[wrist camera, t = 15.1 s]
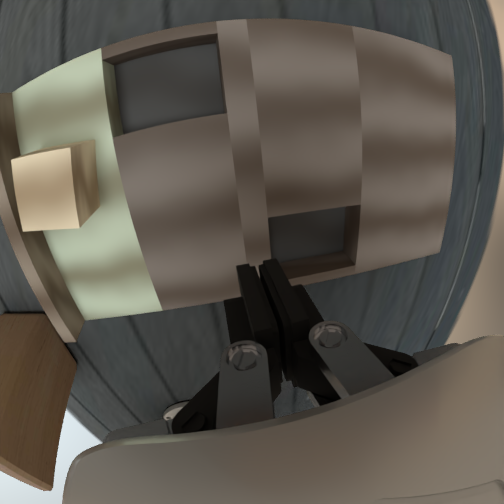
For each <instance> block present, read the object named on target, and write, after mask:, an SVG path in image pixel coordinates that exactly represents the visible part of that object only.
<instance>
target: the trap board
mask: <svg viewBox="0 0 504 504" xmlns="http://www.w3.org/2000/svg"><path fill="white" fill-rule="evenodd" d="M455 139H456V101H455V84H454V72H453V63H452V56H451V55H448V54H446V53H443V52H441V51H438V50H436V49H433V48H431V47H428V46H425V45H422V44H419V43H416V42H413V41H410V40H407V39H404V38H400V37H397V36H393V35H390V34H386V33H382V32H378V31H373V30H369V29H364V28H359V27H354V26H348V25H342V24H336V23H328V22H320V21H309V20H296V19H240V20H226V21H215V22H207V23H199V24H193V25H186V26H181V27H175V28H170V29H165V30H161V31H157V32H152V33H148V34H145V35H141V36H137V37H134V38H130V39H127V40H124V41H120V42H117V43H114V44H111V45H109V46H106V47H103V48H100V49H98V50H95V51H92V52H90V53H87V54H85V55H82V56H80V57H78V58H75V59H73V60H71V61H69V62H67V63H65V64H62V65H60V66H58V67H56V68H54V69H52V70H50V71H48V72H47V73H45V74H43V75H41V76H39V77H37V78H36V79H34V80H32V81H30V82H29V83H27V84H25V85H24V86H22V87H20V88H19V89H17V90H16V91H14V92H13V93H0V215H1V218H2V221H3V224H4V227H5V230H6V232H7V235H8V237H9V240H10V243H11V245H12V247H13V250H14V252H15V254H16V257H17V259H18V261H19V263H20V266H21V268H22V270H23V272H24V274H25V276H26V278H27V280H28V282H29V284H30V286H31V288H32V290H33V292H34V293H35V295H36V297H37V299H38V301H39V303H40V304H41V306H42V308H43V309H44V311H45V313H46V314H47V316H48V318H49V319H50V321H51V323H52V324H53V326H54V327H55V329H56V330H57V332H58V333H59V335H60V336H61V338H62V339H63V341H64V342H65V343H66V342H77V339H78V336H79V334H80V331H81V329H82V326H83V324H84V321H85V320H91V319H100V318H109V317H117V316H125V315H133V314H141V313H148V312H155V311H162V310H169V309H176V308H182V307H188V306H195V305H201V304H207V303H213V302H219V301H224V300H226V299H231V298H236V297H241V293H240V287H239V281H238V276H237V270H236V266H237V265H242V264H248V263H249V264H250V266H255V267H256V270H257V273H258V275H259V265H261V264H263V260H268V259H273V258H276V259H277V260H278V262H279V264H280V266H281V267H282V269H283V271H284V273H285V275H286V276H287V278H288V280H289V282H290V284H291V286H294V285H299V284H302V285H308V284H312V283H317V282H322V281H326V280H331V279H335V278H340V277H344V276H348V275H353V274H357V273H361V272H365V271H370V270H374V269H378V268H382V267H386V266H390V265H394V264H398V263H402V262H405V261H409V260H413V259H417V258H421V257H424V256H428V255H432V254H435V253H439V252H440V247H441V243H442V239H443V234H444V229H445V224H446V219H447V214H448V208H449V202H450V195H451V187H452V179H453V170H454V158H455ZM87 140H95V149H96V168H97V181H98V191H99V201H100V207H99V208H98V209H97V210H96V211H95V212H94V213H93V214H92V215H91V216H90V218H89V219H88V220H87V221H86V222H85V223H84V224H83V225H82V226H81V227H80V228H76V229H56V230H40V231H24V232H23V229H22V225H21V221H20V216H19V211H18V206H17V201H16V195H15V188H14V181H13V173H12V164H11V160H12V159H14V158H17V157H19V156H22V155H25V154H27V153H30V152H33V151H36V150H39V149H42V148H47V147H52V146H57V145H62V144H68V143H74V142H81V141H87ZM259 278H260V275H259Z"/></svg>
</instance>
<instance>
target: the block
mask: <svg viewBox="0 0 504 504" xmlns="http://www.w3.org/2000/svg"><path fill="white" fill-rule="evenodd" d="M76 370H77V365H76V361H75V360H74V358H73V357H72V355H71V354H70V352H69V351H68V349H67V347H66V346H65V344H64V343H63V341H62V339H61V338H60V336H59V334H58V332H57V331H56V329H55V327H54V326H53V324H52V323H51V321H50V319H49V318H48V316H47V315H45V314H5V313H4V314H2V315H1V316H0V471H2V472H4V473H6V474H8V475H10V476H12V477H14V478H16V479H18V480H20V481H22V482H24V483H26V484H29V485H31V486H33V487H36V488H38V489H41V490H43V491H51V490H52V488H53V482H54V472H55V464H56V457H57V451H58V445H59V439H60V433H61V429H62V424H63V419H64V415H65V411H66V406H67V402H68V398H69V395H70V391H71V387H72V384H73V380H74V377H75V373H76Z"/></svg>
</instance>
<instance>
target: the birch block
mask: <svg viewBox="0 0 504 504" xmlns="http://www.w3.org/2000/svg"><path fill="white" fill-rule="evenodd" d="M11 164H12V173H13V181H14V188H15V195H16V201H17V206H18V211H19V216H20V221H21V225H22V229H23V232H24V231H40V230H56V229H76V228H80V227H81V226H82V225H83V224H84V223H85V222H86V221H87V220H88V219H89V218H90V216H91V215H92V214H93V213H94V212H95V211H96V210H97V209H98V208H99V207H100V201H99V191H98V181H97V168H96V149H95V140H87V141H81V142H74V143H68V144H62V145H57V146H52V147H47V148H42V149H39V150H36V151H33V152H30V153H27V154H25V155H22V156H19V157H17V158H14V159H12V160H11Z"/></svg>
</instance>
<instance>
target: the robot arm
mask: <svg viewBox="0 0 504 504" xmlns="http://www.w3.org/2000/svg"><path fill="white" fill-rule="evenodd" d="M236 270H237V276H238V281H239V287H240V293H241V297H236V298H231V299H226V300H224V306H225V312H226V318H227V324H228V330H229V336H230V342H231V345H229V346H228V347H227V348H226V349H225V350H224V351H223V353H222V355H221V360H220V371H219V372H218V373H217V374H216V375H215V376H214V377H213V378H212V379H211V380H210V381H209V382H208V383H207V384H206V385H205V386H204V387H203V388H202V389H201V390H200V391H199V392H198V393H197V394H196V395H195V396H194V397H193V398H192V399H191V400H190V401H187V402H182V403H178V404H175V405H173V406H170V407H169V408H167V409H166V410H165V412H164V414H163V418H162V419H159V420H155V421H151V422H147V423H143V424H139V425H135V426H130V427H126V428H121V429H116V430H114V431H111V432H110V433H108V434H107V435H106V436H105V438H104V440H103V443H102V444H99V445H97V446H94V447H91V448H89V449H87V450H85V451H83V452H82V453H80V454H79V455H78V456H77V457H76V458H75V459H74V460H73V462H72V464H71V466H70V468H69V471H68V473H67V477H66V482H65V486H64V493H63V501H62V504H504V336H503V335H490V336H483V337H479V338H476V339H473V340H470V341H468V342H465V343H463V344H457V343H452V344H448V345H444V346H440V347H436V348H432V349H428V350H424V351H420V352H416V353H413V356H410V355H407V354H405V353H401V352H397V351H393V350H389V349H385V348H382V347H378V346H374V345H370V344H367V343H363V342H362V341H361V340H360V339H359V338H358V337H357V336H356V335H355V334H354V333H353V331H352V330H351V329H350V328H349V327H347V326H346V325H345V324H343V323H340V322H337V321H324V320H323V318H322V317H321V315H320V313H319V312H318V310H317V308H316V307H315V305H314V303H313V302H312V300H311V298H310V297H309V295H308V293H307V292H306V290H305V288H304V287H303V285H302V284H299V285H294V286H291V284H290V282H289V280H288V278H287V276H286V275H285V273H284V271H283V269H282V267H281V266H280V264H279V262H278V260H277V259H276V258H273V259H268V260H263V264H261V265H259V275H260V278H259V275H258V273H257V270H256V267H255V266H250V264H249V263H248V264H242V265H237V266H236ZM282 370H283V373H284V376H285V379H286V381H290V380H291V381H292V384H293V386H294V387H297V386H298V387H299V388H302V389H305V390H307V394H308V397H309V398H310V400H311V401H312V403H313V405H314V406H315V408H313V409H309V410H306V411H302V412H299V413H295V414H291V415H287V416H283V417H279V418H275V413H274V403H273V402H274V401H275V399H276V398H277V397H278V395H279V394H280V392H281V383H282V382H283V380H282Z"/></svg>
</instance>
